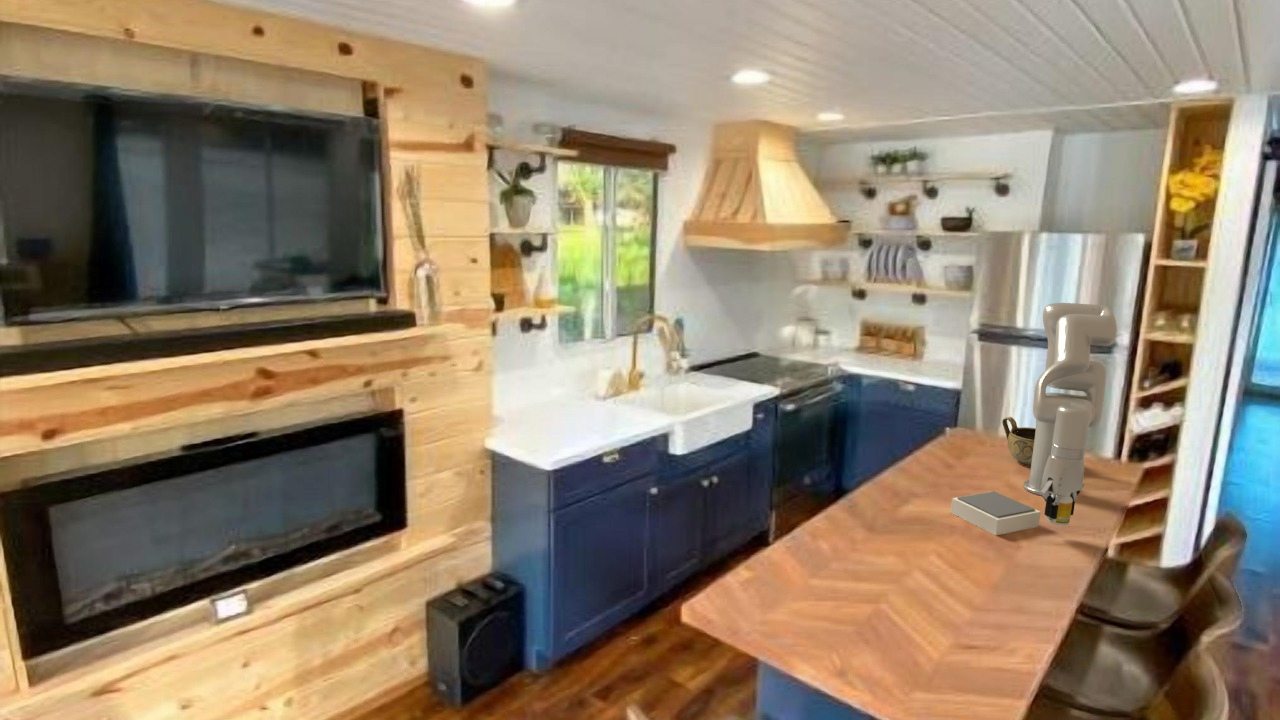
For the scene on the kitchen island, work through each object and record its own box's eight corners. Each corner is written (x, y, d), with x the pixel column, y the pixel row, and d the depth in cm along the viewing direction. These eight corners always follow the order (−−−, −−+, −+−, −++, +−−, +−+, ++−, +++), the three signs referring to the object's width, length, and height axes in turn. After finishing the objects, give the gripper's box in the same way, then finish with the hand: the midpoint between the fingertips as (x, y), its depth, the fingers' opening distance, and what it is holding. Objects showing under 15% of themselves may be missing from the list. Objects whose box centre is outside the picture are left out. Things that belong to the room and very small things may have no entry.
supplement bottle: (1042, 520, 193) (1047, 487, 190) (1051, 515, 196) (1055, 482, 194) (1064, 527, 189) (1069, 494, 186) (1072, 522, 192) (1077, 488, 190)
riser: (991, 505, 214) (993, 489, 213) (1038, 526, 199) (1040, 509, 198) (950, 512, 208) (952, 496, 207) (995, 535, 194) (997, 518, 193)
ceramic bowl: (1075, 466, 248) (1081, 425, 245) (1057, 477, 237) (1063, 434, 234) (1008, 450, 265) (1013, 411, 262) (988, 460, 254) (993, 419, 251)
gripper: (1077, 442, 194) (1068, 504, 198) (1031, 451, 188) (1023, 514, 192) (1104, 451, 187) (1094, 515, 192) (1057, 461, 181) (1047, 526, 185)
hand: (1058, 514), depth 192 cm, fingers closed on supplement bottle, 5 cm apart
